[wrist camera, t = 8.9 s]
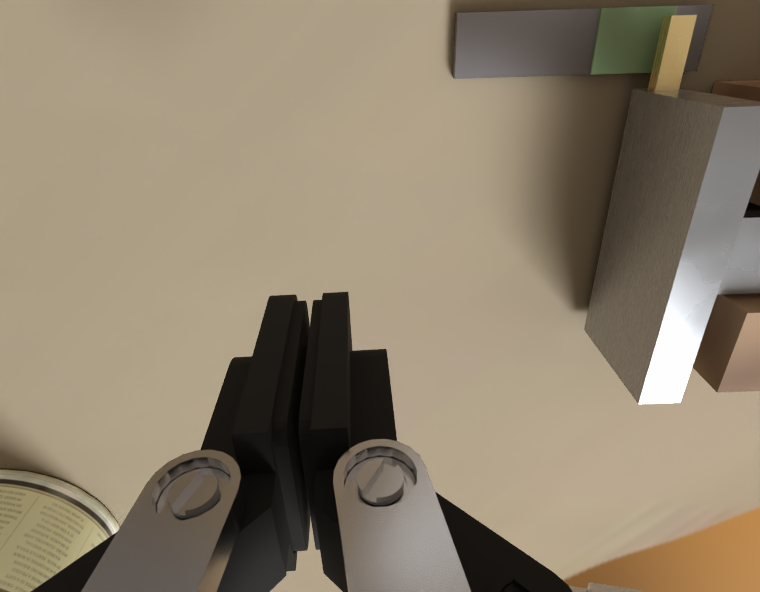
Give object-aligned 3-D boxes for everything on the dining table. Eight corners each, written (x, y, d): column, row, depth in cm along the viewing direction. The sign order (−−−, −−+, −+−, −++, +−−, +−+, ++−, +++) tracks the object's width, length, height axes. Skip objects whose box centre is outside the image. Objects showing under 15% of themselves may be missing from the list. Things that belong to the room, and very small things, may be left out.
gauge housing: (455, 13, 16) (496, 2, 11) (1043, -6, 16) (1362, -26, 11) (443, 336, 23) (465, 428, 17) (871, 321, 23) (1024, 409, 17)
